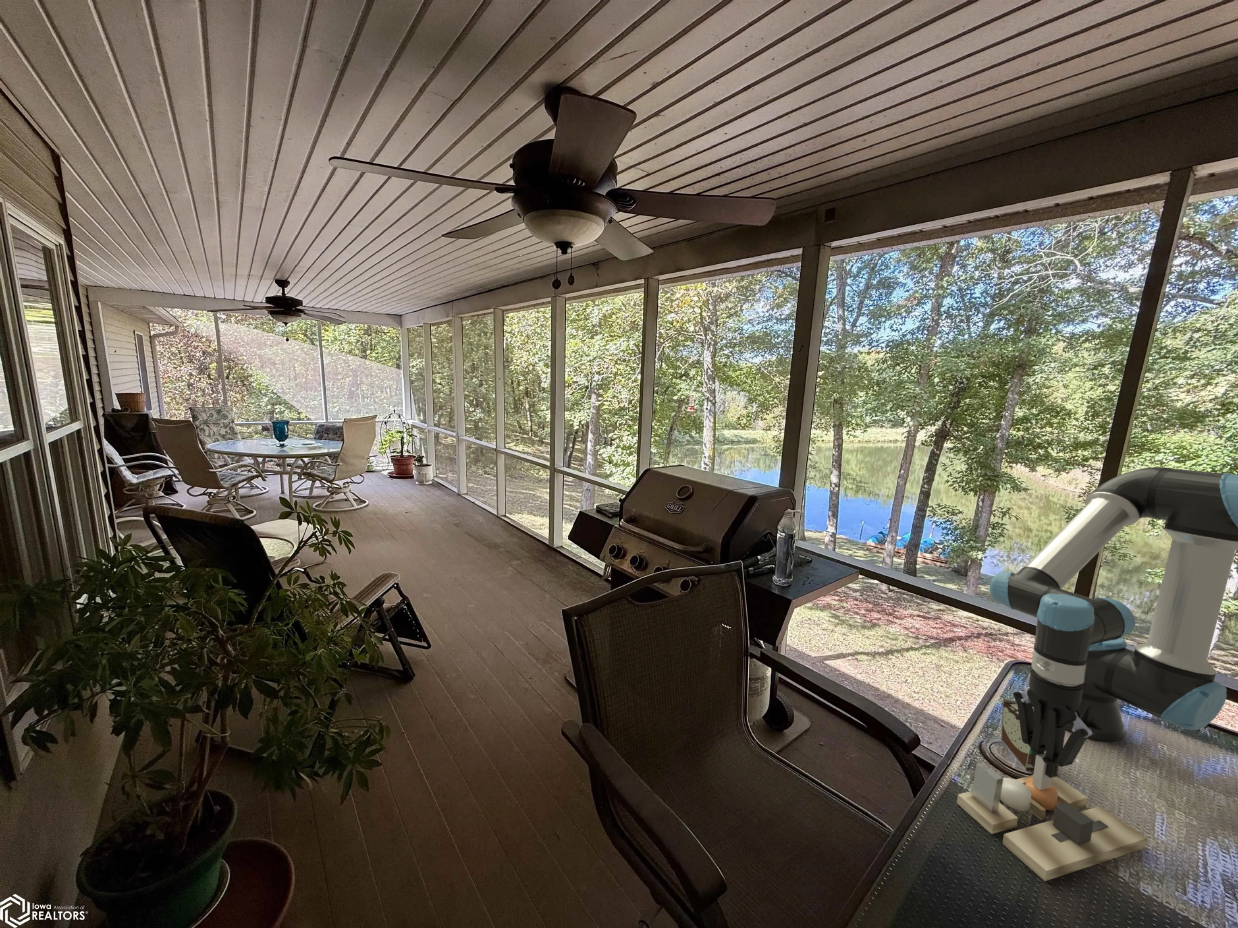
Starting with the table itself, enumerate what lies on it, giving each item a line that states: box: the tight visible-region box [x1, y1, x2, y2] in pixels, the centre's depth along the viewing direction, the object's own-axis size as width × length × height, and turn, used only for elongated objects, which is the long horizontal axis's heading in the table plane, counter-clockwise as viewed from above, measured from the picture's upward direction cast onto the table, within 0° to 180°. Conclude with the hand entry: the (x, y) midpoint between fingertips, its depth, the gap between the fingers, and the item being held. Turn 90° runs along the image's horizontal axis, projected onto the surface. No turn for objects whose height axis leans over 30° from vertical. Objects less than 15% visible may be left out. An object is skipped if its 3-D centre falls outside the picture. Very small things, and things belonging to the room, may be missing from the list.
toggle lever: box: [971, 762, 1004, 813], centre depth 93 cm, size 2×4×7 cm, turn 14°
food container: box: [1000, 698, 1046, 772], centre depth 107 cm, size 12×6×10 cm, turn 168°
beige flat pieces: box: [956, 774, 1148, 882], centre depth 91 cm, size 24×16×2 cm, turn 104°
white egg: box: [1000, 777, 1031, 812], centre depth 94 cm, size 5×5×3 cm
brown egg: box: [1025, 778, 1058, 811], centre depth 96 cm, size 5×5×3 cm
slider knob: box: [1053, 803, 1094, 845], centre depth 87 cm, size 3×4×4 cm
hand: (1041, 785), depth 95 cm, fingers closed
